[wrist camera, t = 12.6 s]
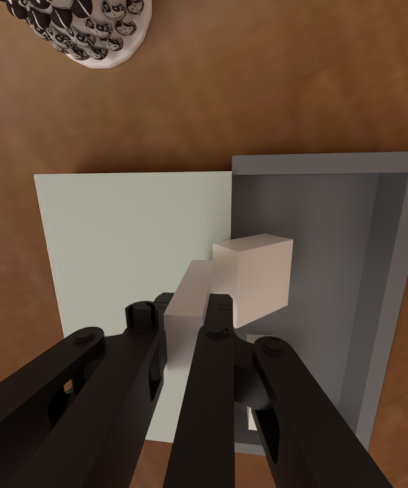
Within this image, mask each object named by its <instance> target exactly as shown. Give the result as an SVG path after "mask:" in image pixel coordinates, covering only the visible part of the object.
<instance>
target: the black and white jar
mask: <svg viewBox="0 0 408 488" xmlns="http://www.w3.org/2000/svg"><path fill="white" fill-rule="evenodd" d="M0 1H3V2H6V5H7V8H8V10H9V12H10V13H11V14H12V15H13V16H14V17H16V18H18V19H22V20H24V21H25V22H26V23H27V24H29V25H30V26H31V28H32V29H33V31H34V32H35V33H36V34H37V35H38V36H39V37H40V38H42V39H44V40H47V41H50V42H51V44H52V46H53V47H54V48H55V49H56V50H58V51H59V52H61V53H65V54H66V55H67V56H68V57H69V58H70V59H72V60H74V61H76V62H78V63H80V64H82V65H84V66H86V67H88V68H90V69H111V68H113V67H115V66H117V65H119V64H121V63H123V62H125V61H127V60H129V59H130V58H131V57H132V55H133V54H134V53H135V52H136V50H137V49H138V48H139V46H140V45H141V44H142V43H143V41H144V39H145V36H146V33H147V30H148V27H149V24H150V20H151V17H152V0H0Z"/></svg>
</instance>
